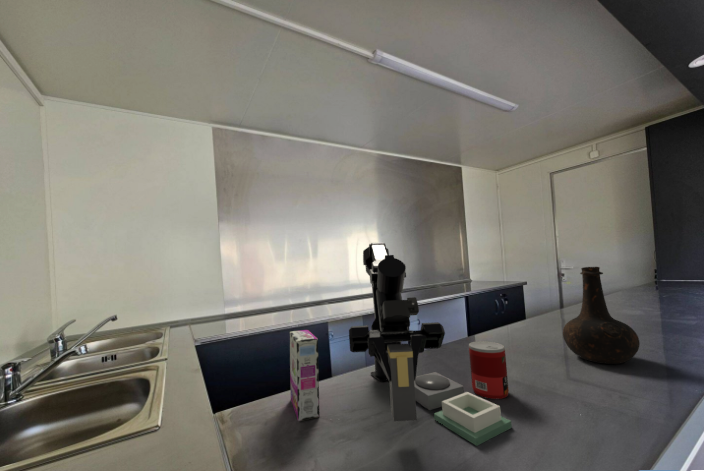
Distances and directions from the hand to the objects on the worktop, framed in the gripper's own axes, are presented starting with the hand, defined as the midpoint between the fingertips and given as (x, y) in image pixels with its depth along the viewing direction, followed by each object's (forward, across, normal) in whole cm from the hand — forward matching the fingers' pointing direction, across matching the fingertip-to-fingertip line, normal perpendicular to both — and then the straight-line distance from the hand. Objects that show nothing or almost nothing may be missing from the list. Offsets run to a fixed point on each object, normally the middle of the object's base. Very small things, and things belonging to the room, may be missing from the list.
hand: (402, 380), depth 52 cm
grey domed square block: (-5, +10, +21) cm, 23 cm away
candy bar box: (-3, -20, +19) cm, 28 cm away
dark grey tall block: (+4, 0, +6) cm, 7 cm away
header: (+4, +14, +12) cm, 19 cm away
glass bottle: (-18, +66, +34) cm, 76 cm away
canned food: (-5, +24, +21) cm, 32 cm away
